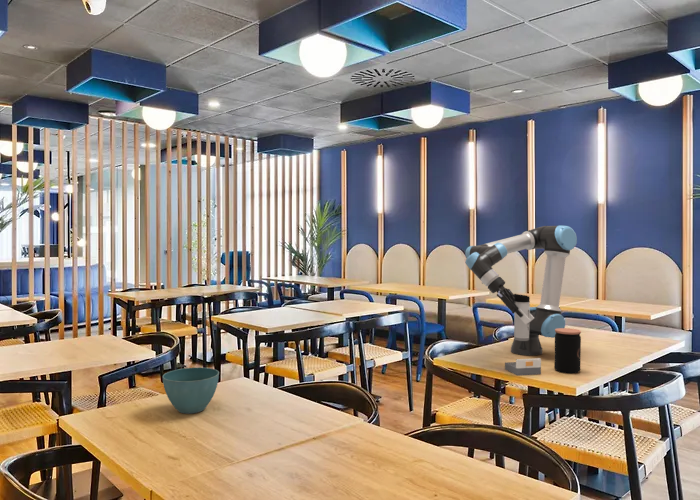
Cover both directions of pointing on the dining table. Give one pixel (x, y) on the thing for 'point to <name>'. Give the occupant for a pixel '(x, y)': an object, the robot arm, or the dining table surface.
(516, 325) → the travel mug
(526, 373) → the display riser
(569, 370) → the coffee jar
